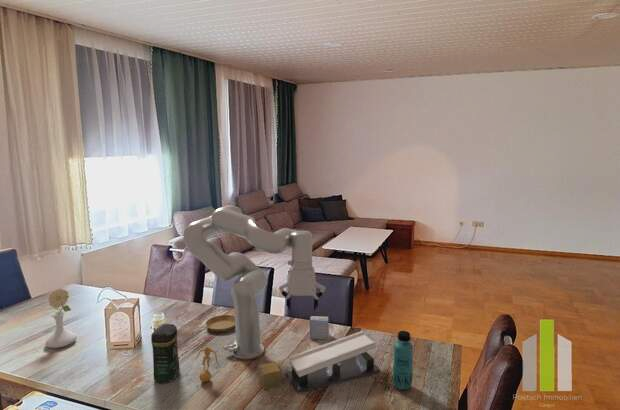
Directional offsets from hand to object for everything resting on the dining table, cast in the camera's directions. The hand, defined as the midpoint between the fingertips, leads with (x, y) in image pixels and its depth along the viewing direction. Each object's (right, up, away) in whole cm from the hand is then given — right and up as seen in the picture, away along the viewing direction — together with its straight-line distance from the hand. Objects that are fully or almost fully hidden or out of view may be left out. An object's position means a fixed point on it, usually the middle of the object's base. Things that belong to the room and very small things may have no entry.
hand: (302, 308), depth 150 cm
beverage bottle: (+34, -24, -14) cm, 44 cm away
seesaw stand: (+11, -22, -5) cm, 26 cm away
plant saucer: (-37, -17, +33) cm, 53 cm away
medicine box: (+7, -18, +22) cm, 30 cm away
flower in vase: (-101, -20, +19) cm, 105 cm away
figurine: (-34, -24, -8) cm, 42 cm away
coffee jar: (-49, -23, -5) cm, 54 cm away
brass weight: (-11, -24, -11) cm, 28 cm away
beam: (+11, -15, -6) cm, 20 cm away
